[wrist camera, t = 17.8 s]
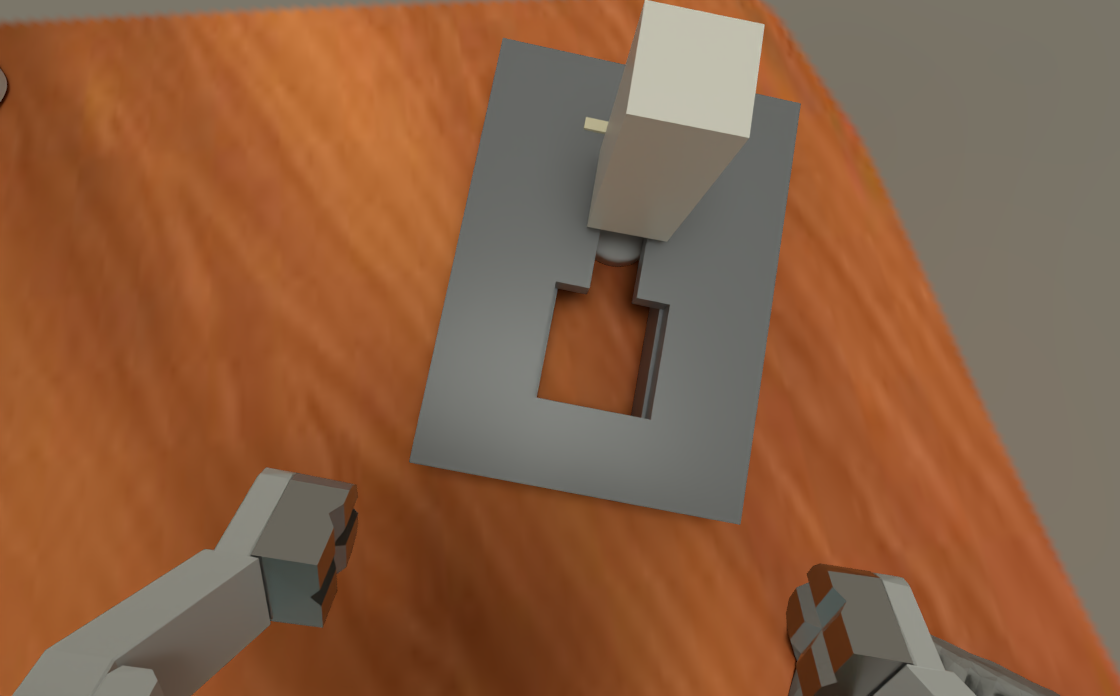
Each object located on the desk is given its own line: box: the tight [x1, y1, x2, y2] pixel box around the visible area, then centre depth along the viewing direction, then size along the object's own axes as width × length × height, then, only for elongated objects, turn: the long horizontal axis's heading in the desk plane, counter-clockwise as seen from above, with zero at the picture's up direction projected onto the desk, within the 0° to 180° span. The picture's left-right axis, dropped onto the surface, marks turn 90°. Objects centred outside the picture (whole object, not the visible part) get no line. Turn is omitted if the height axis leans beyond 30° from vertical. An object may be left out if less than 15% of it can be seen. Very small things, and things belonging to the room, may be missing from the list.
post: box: [587, 0, 765, 267], centre depth 28 cm, size 4×4×16 cm
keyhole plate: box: [409, 38, 801, 525], centre depth 33 cm, size 22×16×5 cm
